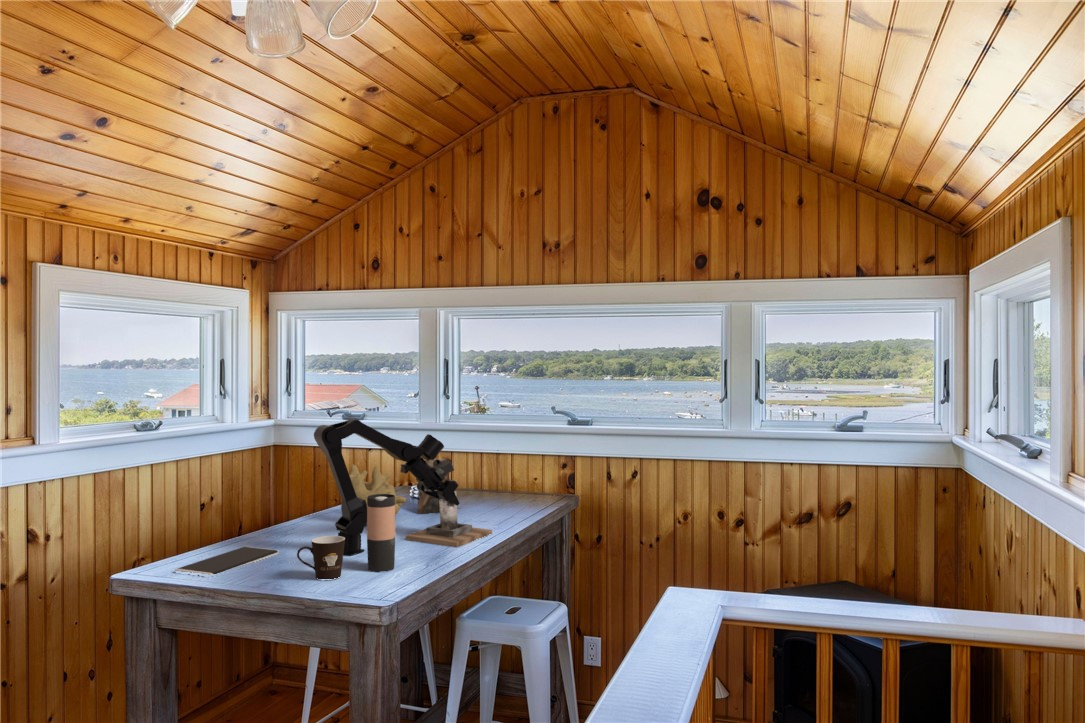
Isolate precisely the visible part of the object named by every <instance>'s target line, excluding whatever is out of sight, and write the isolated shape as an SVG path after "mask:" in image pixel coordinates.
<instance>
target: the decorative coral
mask: <svg viewBox="0 0 1085 723" xmlns="http://www.w3.org/2000/svg"><path fill="white" fill-rule="evenodd" d="M367 475H368V471H367V470H363V471H362V472H361V473H360V470H359V468H358V467H357V466H356V464H353V463H352V464H351V465H350V469H349V476H350V478H351V481H352V484H353V487H354V490H355V493H356V495H357V497H358V498H361V499H364V500H366V503H367V497H368V496H370V495H375V494H392V495H395V516H396V515H397V514H398V513H399V512H400V509H401V508H400V507H402V506H403V505H404V504H405V503H407V498H406V497H404V496H401V495H397V493H396V489H395V487H394V485H392V484H389V483H388V481H387V480H388V479H391V473H389V472H388V473H386V474H385V475H384V474H383V475H382V473H381V470H380V468H379V466H378V465H375V466H374V467H373V470H372V472H371V479H372V480H371V481H369V482H367V481H365V479H366V477H367ZM365 526H367V523H366V525H365Z"/></svg>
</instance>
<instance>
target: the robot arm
mask: <svg viewBox="0 0 1085 723" xmlns="http://www.w3.org/2000/svg"><path fill="white" fill-rule="evenodd" d="M353 435H356V436H358V437H361V438H362V439H364V440H365V441H368V442H370V443H372V444H373V445H376V446H378V447H379V448H381V449H383V450H384V451H385V452H386V453H387V455H389V456H390V457H392V458H393V460H394V459H395V460H397V461H401V462H405V463H402V464H400V471H399V472H400V473H403V474H405V475H406V474H408V473H410V474H411V475H413V477H414V478H415V481H416V482H417V484H416V489H417V490H418V492H419V491H420V492H422V493H424V492H425V494H427V495H429V496H432V497H434V498H437V499H439V497H441V498H440V499H443V500H445V501H447V502H450V503H452V504H455V505H457V507H458V506H459V504H460V501H459V499H458V497H456V495H455V492H454V491H456V490H457V489H458V487H459V484H458V482H457V481H455V480H453V479H450V480H446V481H445V482H442V480H444V479H445V477H444V476H445V475H446V474H448V473H449V474H450V473H452V472H454V471H455V468H454V465H453V463H452V461H451V460H449V461H448V459H446V460H442V462H441V461H440V460H438V459H439V458H436V457H438V455H439V454H440V453H441V451H442V450H443V449H444V448H445V446H444V443H442V442H441V441H440V440H438V439H437V438H436V437H434V436H433V435H432V434H426V435H425V436H424V439H423V440H422V441H421V442H420V443H419V445H413V444H412V443H409V442H406V441H403V440H399V439H396V438H393V437H390V436H388V435H386V434H384V433H382V432H380V431H379V430H377V429H375V428H373V427H371V426H369V425H367V424H366V423H363V422H362V421H360V419H355V418H349V419H348V420H345V421H341V422H337V423H333V424H329V425H327V424H321V425H319V426H318V427H317V428H316V429H315V430H314V432H313V437H314V442H316V443H317V446H318V448H319V449H320V451H322V453H323V454H324V455H325V457H326V459H327V463H328V464H329V467H330V471H331V473H332V476H333V479H334V482H335V484H336V487H337V491H338V494H339V496H340V499H341V506H340V508H341V510H340V511H341V514H342V516H340V518H338V519H337V521H336V522H335V523H334V526H335V528H336V531H338V533H337V536H341V537H344V538H345V544H344V553H343V556H354V555H356V554H359V553H364V552H365V548H364V549H363V548H362V534H363V532H364V529H365V526H367V525H366V523H367V503H366V500H364V499H361V498H358V497H357V495H356V493H355V490H354V487H353V484H352V481H351V478H350V476H349V475H350V472H349V471H348V470H349V469H348V468H347V465H346V462H345V459H344V456H343V452H342V451H343V450H342V449H343V441H342V440H344V439H347V438H349V437H350V436H353ZM434 459H436V460H434ZM429 460H432V461H433V460H434V461H433V467H430V466H429V465H428V464H427V462H426V461H429Z"/></svg>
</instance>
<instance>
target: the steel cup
mask: <svg viewBox="0 0 1085 723" xmlns="http://www.w3.org/2000/svg"><path fill="white" fill-rule="evenodd" d="M454 492H455V495H456V497H457V491H456V490H455V491H454ZM440 498H441V497H439V505H440V513H439V524H440V528H441V529H449V530H453V529H456V528H458V506H457V505H455V504H452V503H450V502H447V501H445V500H443V499H440ZM457 498H458V497H457Z"/></svg>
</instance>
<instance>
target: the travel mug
mask: <svg viewBox="0 0 1085 723" xmlns="http://www.w3.org/2000/svg"><path fill="white" fill-rule="evenodd" d="M366 546H367V547H366V549H367V552H366V553H367V570H368V571H369V570H370V571H369V572H372V571H377V572H376V573H380V572H379V571H386V572H390V571H394V569H395V562H396V560H395V558H396V556H395V555H396V553H395V552H396V515H395V495H392V494H375V495H370V496H368V497H367V525H366ZM389 570H390V571H389Z"/></svg>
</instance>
